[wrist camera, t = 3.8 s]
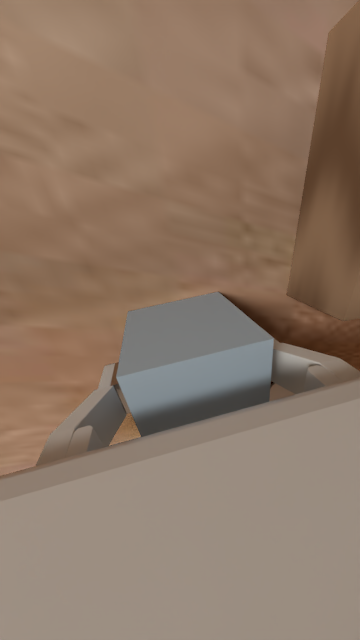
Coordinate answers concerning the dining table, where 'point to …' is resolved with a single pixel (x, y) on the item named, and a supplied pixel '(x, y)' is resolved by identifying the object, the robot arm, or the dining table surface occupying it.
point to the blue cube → (192, 362)
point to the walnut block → (333, 185)
